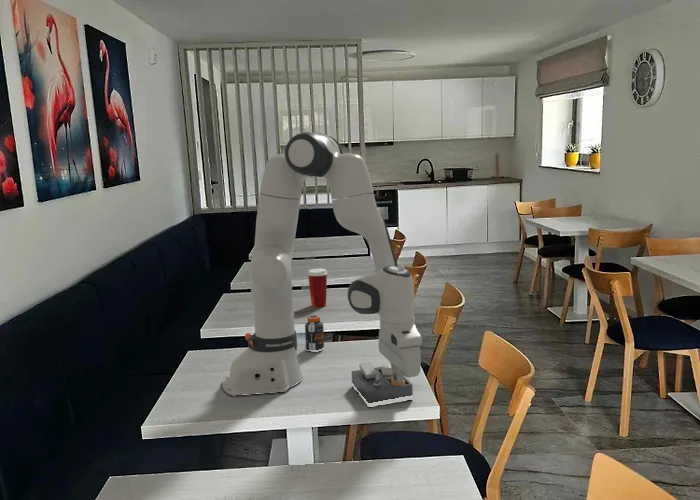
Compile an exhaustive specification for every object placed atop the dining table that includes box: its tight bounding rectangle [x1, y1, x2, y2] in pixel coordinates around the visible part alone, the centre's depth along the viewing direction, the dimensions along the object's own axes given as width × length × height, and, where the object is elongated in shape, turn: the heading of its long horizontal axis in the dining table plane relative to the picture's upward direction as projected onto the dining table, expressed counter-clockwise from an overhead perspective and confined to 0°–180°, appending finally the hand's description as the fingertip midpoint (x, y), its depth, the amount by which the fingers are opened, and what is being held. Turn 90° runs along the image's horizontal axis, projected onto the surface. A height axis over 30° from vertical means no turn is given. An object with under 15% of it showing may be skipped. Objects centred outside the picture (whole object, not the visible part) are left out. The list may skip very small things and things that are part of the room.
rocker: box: [359, 361, 377, 379], centre depth 155 cm, size 3×6×1 cm, turn 17°
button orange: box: [391, 379, 405, 386], centre depth 151 cm, size 4×4×4 cm
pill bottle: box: [304, 314, 325, 351], centre depth 187 cm, size 6×6×11 cm
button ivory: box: [381, 363, 393, 376], centre depth 157 cm, size 4×4×4 cm
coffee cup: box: [307, 268, 328, 309], centre depth 238 cm, size 8×8×15 cm
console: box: [351, 366, 413, 403], centre depth 153 cm, size 12×14×8 cm
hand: (398, 380), depth 150 cm, fingers closed, pressing on button orange
